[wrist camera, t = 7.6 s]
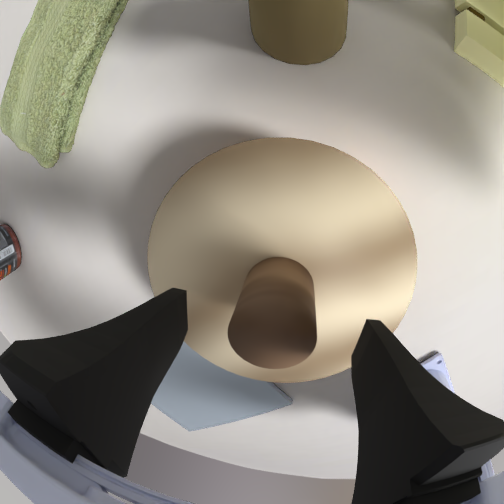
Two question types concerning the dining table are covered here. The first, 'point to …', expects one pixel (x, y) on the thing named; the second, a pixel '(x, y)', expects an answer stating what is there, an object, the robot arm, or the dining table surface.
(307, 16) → the cork
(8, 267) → the supplement bottle
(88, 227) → the dining table surface
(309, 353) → the birch lid
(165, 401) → the slate mat
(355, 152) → the dining table surface
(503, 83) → the slatted curved stool
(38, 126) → the washcloth
